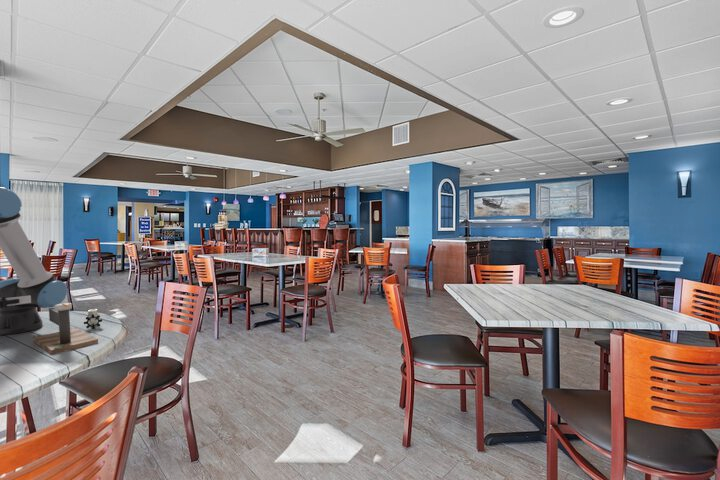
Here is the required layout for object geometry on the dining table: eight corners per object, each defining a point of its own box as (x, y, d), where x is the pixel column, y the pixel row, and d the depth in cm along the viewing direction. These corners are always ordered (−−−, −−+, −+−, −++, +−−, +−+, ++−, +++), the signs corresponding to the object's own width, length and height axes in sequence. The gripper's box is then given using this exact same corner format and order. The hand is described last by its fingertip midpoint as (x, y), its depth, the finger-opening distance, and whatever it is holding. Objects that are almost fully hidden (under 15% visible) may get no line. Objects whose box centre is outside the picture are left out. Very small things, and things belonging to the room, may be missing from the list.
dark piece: (44, 335, 138) (42, 298, 137) (60, 332, 142) (58, 296, 141) (62, 346, 125) (59, 306, 124) (78, 342, 129) (76, 303, 128)
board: (33, 341, 136) (33, 336, 136) (77, 331, 148) (76, 327, 148) (52, 354, 122) (51, 349, 122) (98, 342, 134) (98, 338, 134)
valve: (84, 324, 159) (84, 330, 149) (83, 310, 158) (83, 315, 149) (101, 321, 163) (102, 327, 153) (101, 307, 162) (102, 313, 153)
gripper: (-71, 320, 114) (25, 306, 134) (-66, 326, 107) (35, 311, 127) (-72, 298, 114) (25, 287, 134) (-67, 302, 107) (35, 291, 126)
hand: (30, 299), depth 130 cm, fingers closed
